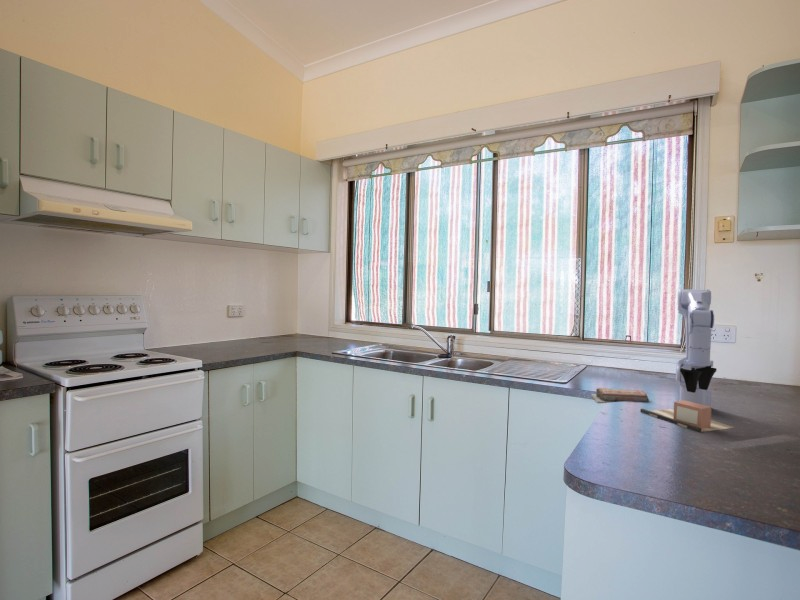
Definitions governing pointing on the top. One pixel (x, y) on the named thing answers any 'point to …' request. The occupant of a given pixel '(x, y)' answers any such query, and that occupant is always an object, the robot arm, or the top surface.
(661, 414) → the shelf board
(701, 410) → the carton
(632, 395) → the packaged product
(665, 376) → the top surface
